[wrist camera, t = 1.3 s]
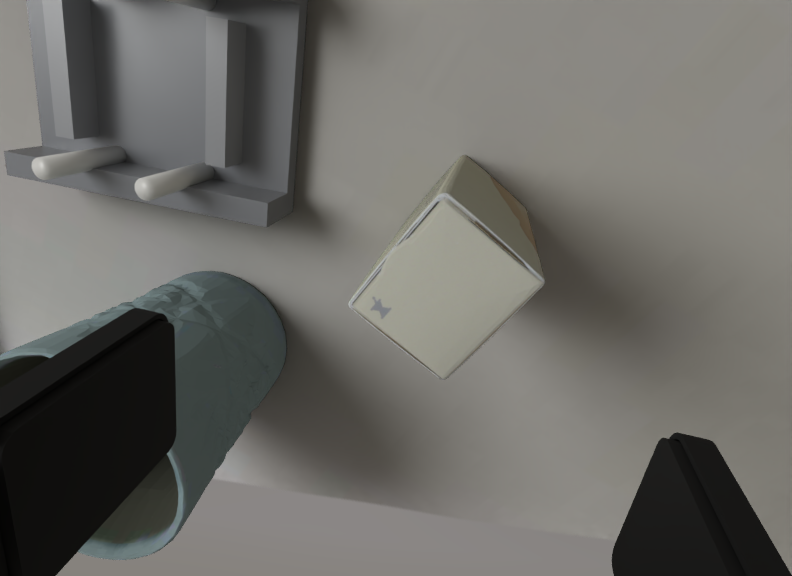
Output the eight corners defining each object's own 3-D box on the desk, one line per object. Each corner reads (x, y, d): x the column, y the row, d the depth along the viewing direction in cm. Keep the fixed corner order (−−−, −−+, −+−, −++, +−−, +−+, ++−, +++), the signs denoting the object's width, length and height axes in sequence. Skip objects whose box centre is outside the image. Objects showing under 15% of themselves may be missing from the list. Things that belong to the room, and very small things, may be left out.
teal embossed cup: (304, 411, 33) (205, 576, 22) (160, 400, 35) (1, 547, 24) (285, 256, 29) (155, 361, 18) (125, 254, 31) (-81, 347, 20)
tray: (309, -22, 24) (251, -54, 18) (292, 211, 28) (241, 242, 23) (36, -61, 26) (-91, -100, 20) (59, 165, 30) (-42, 183, 24)
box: (461, 279, 28) (437, 391, 18) (398, 226, 27) (337, 310, 17) (532, 204, 26) (551, 283, 16) (466, 146, 25) (441, 189, 15)
